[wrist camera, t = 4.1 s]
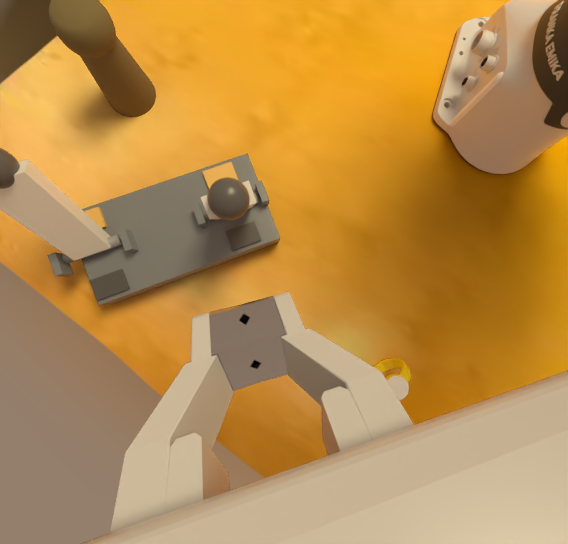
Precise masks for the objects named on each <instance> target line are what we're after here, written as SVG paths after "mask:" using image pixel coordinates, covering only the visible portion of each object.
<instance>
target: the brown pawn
mask: <svg viewBox="0 0 568 544" xmlns="http://www.w3.org/2000/svg"><path fill="white" fill-rule="evenodd" d="M49 17H50V22H51V24H52V26H53V29H54V30H55V32H56V34H57V36H58V37H59V38H60V39H61V40H62V42H63V43H64V44H65V45H66V46H67V47H68V48H69V49H71V50H72V51H73V52H75V53H77V54H78V55H80V56H81V58H82V60H83V61H84V63H85V64H86V66H87V68H88V69H89V71H90V72H91V74H92V76H93V77H94V79H95V81H96V82H97V84H98V85H99V87H100V89H101V90H102V92H103V93H104V95H105V97H106V98H107V100H108V101H109V103H110V105H111V106H112V107H113V108H114V109H115V111H117V112H118V113H120V114H122V115H124V116H129V117H136V116H140V115H143V114H145V113H146V112H148V111H149V110H150V109H151V107H152V106H153V104H154V102H155V98H156V93H155V88H154V86H153V84H152V82H151V81H150V80H149V78H148V77H147V76H146V74H145V73H144V72H143V70H142V69H141V68H140V66H139V65H138V64H137V63H136V61H135V60H134V59H133V57H132V56H131V55H130V53H129V52H128V51H127V49H126V48H125V47H124V46H123V44H122V43H121V42H120V40H119V39H118V38H117V36H116V33H115V27H114V24H113V21H112V19H111V17H110V15H109V13H108V11H107V10H106V8H105V7H104V6H103V5H102V4H101V3H100V2H99V1H98V0H51V2H50V5H49Z"/></svg>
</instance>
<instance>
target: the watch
mask: <svg viewBox="0 0 568 544" xmlns="http://www.w3.org/2000/svg"><path fill="white" fill-rule="evenodd" d="M374 368H376V369H378V370H379V371H381V372H382V374H383V373H384V372H385V371H386V370H390V369H393V368H402V370H401V372H400V374H390V375H388V376H387V377H386V378H385V379H386V380H387V382H388V383H389V385H390V387H391V388H392V390H393V391H394V393H395V395H396V396H397V398H398V400H402V399H404V398H405V397H406V396H407V394H408V392H409V384H408V383H409V381H410V379H411V372H410V370H409V368H408V367H407V365H406V364H405V362H404V361H402V360H401V359H399V358H388V359H385V360H382V361H380V362H379V363H378V364H376V365H375V366H374Z"/></svg>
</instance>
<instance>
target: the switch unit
mask: <svg viewBox="0 0 568 544" xmlns="http://www.w3.org/2000/svg"><path fill="white" fill-rule="evenodd" d="M225 177H230V178H234V179H237V180H239V181H240V182H241V183H243V182H246V181H248V180H249V182H250V185H251V188H252V191H253V193H255V194H256V196H257V199H258V203H256V204H255V205H254V206H253V207H252V208H250V209H248V210H247V211H246V213H245V214H244V215H243V216H242V217H240V218H238V219H236V220H223V219H211V220H209V218H208V216H207V213H206V209H205V207H204V205H203V202H202V200H201V197H202V196H205V195H208V191H209V188H210V187H211V185H212V184H213V183H214V182H215V181H217V180H218V179H221V178H225ZM268 204H269V198H268V196H267V193H266V191H265V188H264V185H263V183H262V181H259V182H258V179H257V177H256V174H255V172H254V169H253V166H252V164H251V161H250V159H249V156H248V153H247V154H244V155H241V156H238V157H236V158H233V159H230V160H227V161H224V162H221V163H218V164H215V165H212V166H209V167H206V168H203V169H200V170H197V171H194V172H191V173H188V174H185V175H182V176H179V177H176V178H173V179H170V180H167V181H164V182H161V183H158V184H156V185H153V186H150V187H147V188H144V189H141V190H138V191H135V192H132V193H129V194H126V195H123V196H120V197H117V198H114V199H111V200H108V201H105V202H102V203H99V204H96V205H93V206H90V207H87V208H84V209H82V210H83V211H84V212H85V213H86V214H87V215H88V216H89V217H90V218H91V219H93V220H94V221H95V222H96V223H97V224H98V225H99V226H100V227H101V228H102V229H103V230H104V231H105V232H106V233H108V234H109V235H110V237H111V236H114V235H117V234H118V235H119V236H120V239H121V241H122V245H119V246H117V247H114V248H111V249H108V250H105V251H102V252H100V253H97V254H94V255H91V256H88V257H85V258H83V259H82V261H83V264H84V266H85V269H86V272H87V275H88V277H89V281H90V284H91V286H92V289H93V292H94V294H95V297H96V300H97V302H98V305H105V304H113V303H116V302H119V301H122V300H124V299H127V298H130V297H132V296H135V295H138V294H140V293H143V292H146V291H149V290H151V289H154V288H157V287H159V286H162V285H165V284H167V283H170V282H173V281H175V280H178V279H181V278H183V277H186V276H189V275H192V274H194V273H197V272H200V271H202V270H205V269H208V268H210V267H213V266H216V265H218V264H221V263H224V262H226V261H229V260H232V259H235V258H237V257H240V256H243V255H245V254H248V253H251V252H253V251H256V250H259V249H261V248H264V247H267V246H270V245H272V244H275V243H278V242H279V240H280V236H279V234H278V231H277V229H276V226H275V223H274V221H273V218H272V216H271V213H270V210H269V208H268ZM48 258H49V261H50V263H51V266H52V269H53V272H54V274H55V276H64V277H67V276H69V275H72V274H73V272H72V269H71V266H70V264H69V263H66V262H65V261H64V260H63V258H62V254H61V253H52V254H49V255H48Z"/></svg>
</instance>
